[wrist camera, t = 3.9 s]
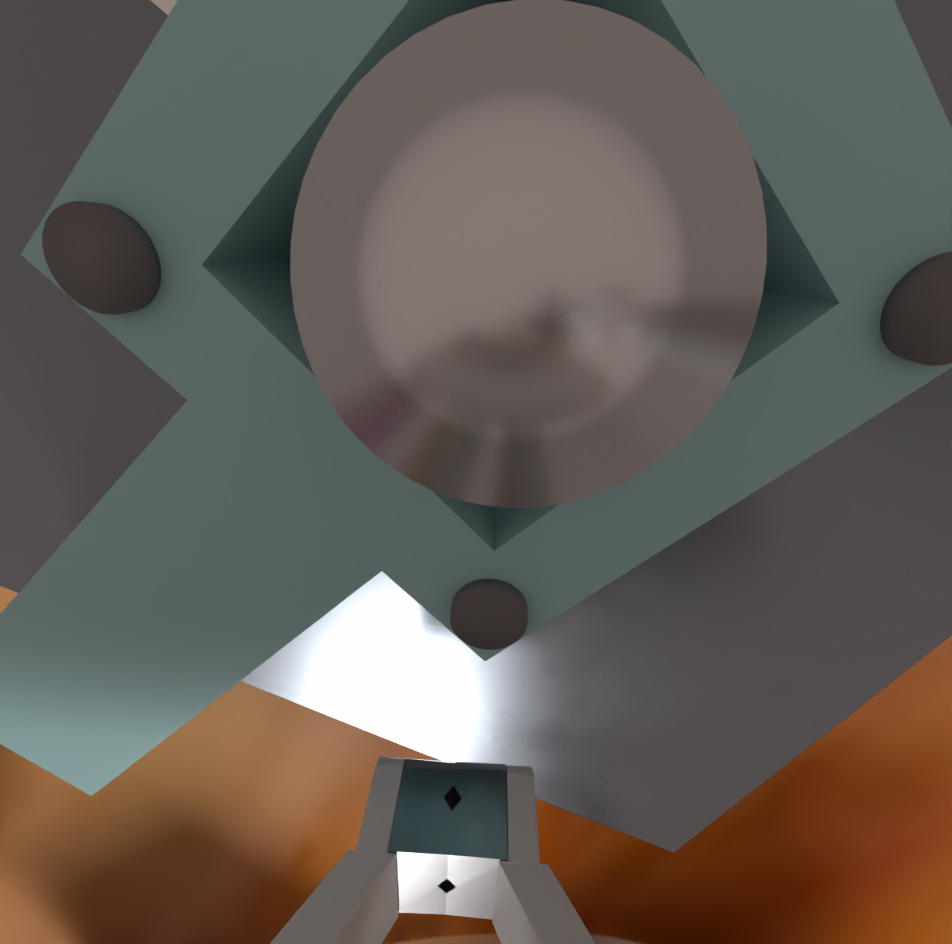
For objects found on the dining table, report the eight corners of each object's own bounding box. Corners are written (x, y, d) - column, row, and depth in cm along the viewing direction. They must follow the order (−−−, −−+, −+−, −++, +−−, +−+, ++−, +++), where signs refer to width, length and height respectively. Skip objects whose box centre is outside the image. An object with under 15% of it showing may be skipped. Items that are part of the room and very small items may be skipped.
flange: (547, -213, 5) (600, -739, 3) (841, 288, 7) (1057, 317, 4) (-15, 521, 10) (-227, 635, 7) (258, 712, 12) (179, 862, 9)
